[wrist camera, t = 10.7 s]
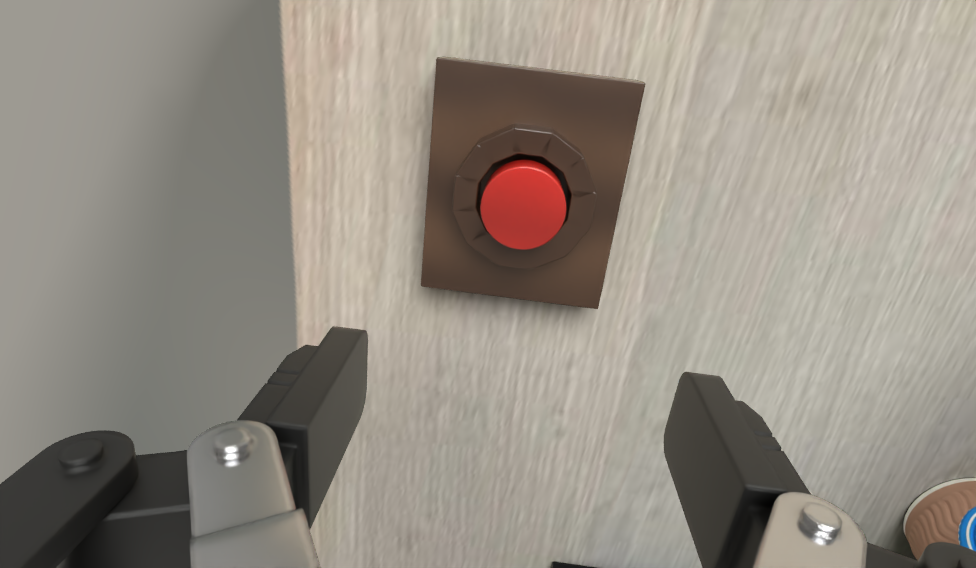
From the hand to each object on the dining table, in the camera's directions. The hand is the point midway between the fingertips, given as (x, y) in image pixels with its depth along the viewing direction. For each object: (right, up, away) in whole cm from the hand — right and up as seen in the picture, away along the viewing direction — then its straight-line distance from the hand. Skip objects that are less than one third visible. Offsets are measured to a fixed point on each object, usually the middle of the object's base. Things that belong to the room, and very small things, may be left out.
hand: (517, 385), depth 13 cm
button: (+1, +6, +15) cm, 16 cm away
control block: (+1, +8, +18) cm, 20 cm away
